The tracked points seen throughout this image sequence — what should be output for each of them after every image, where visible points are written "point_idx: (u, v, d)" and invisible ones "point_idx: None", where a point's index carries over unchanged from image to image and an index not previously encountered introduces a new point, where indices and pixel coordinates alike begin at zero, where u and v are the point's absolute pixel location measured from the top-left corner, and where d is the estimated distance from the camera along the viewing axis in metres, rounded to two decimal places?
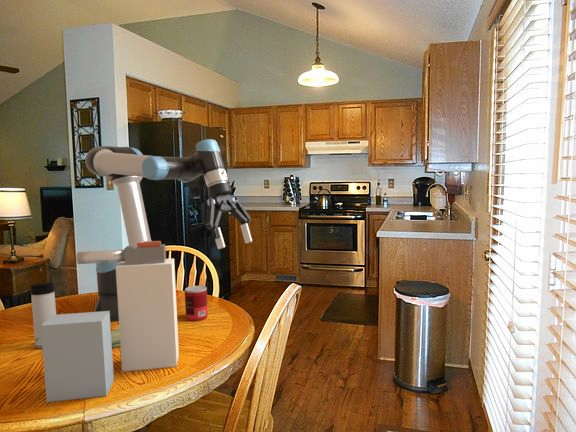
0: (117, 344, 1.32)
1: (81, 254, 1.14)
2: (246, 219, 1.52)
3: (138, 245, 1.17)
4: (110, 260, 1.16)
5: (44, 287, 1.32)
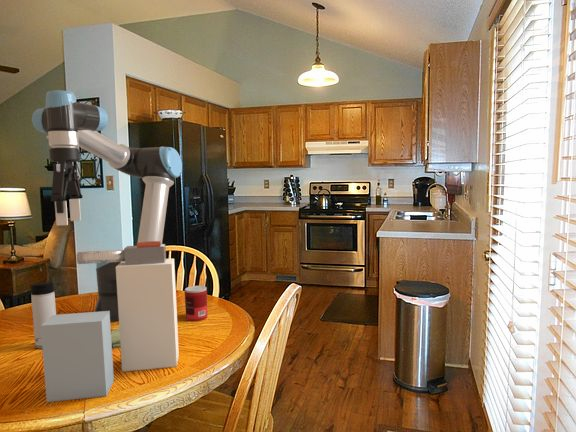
0: (117, 344, 1.32)
1: (81, 254, 1.14)
2: None
3: (138, 245, 1.17)
4: (110, 260, 1.16)
5: (44, 287, 1.32)
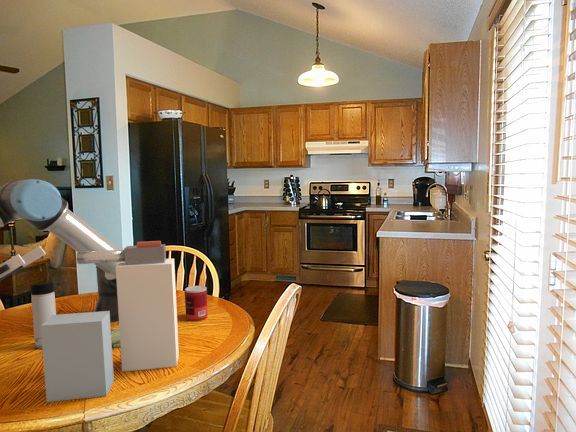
0: (118, 344, 1.33)
1: (81, 254, 1.14)
2: None
3: (138, 245, 1.17)
4: (110, 260, 1.16)
5: (44, 287, 1.32)
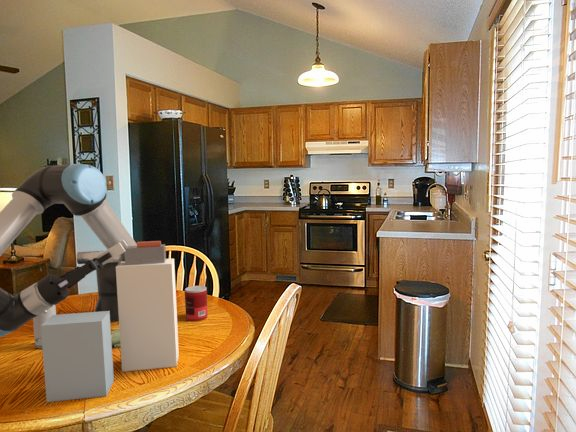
0: (118, 344, 1.33)
1: (81, 254, 1.14)
2: None
3: (138, 245, 1.17)
4: None
5: None
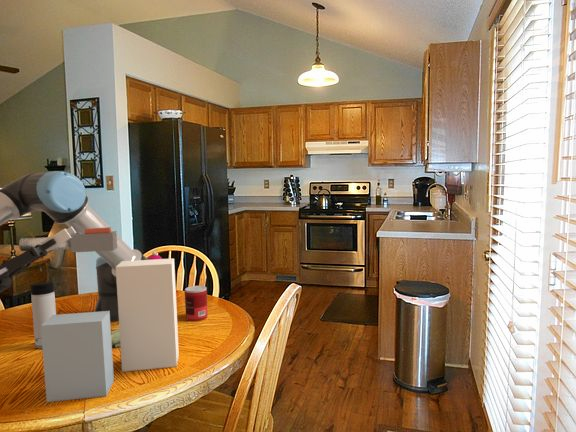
0: (119, 344, 1.33)
1: (24, 240, 1.08)
2: (40, 255, 1.07)
3: (86, 231, 1.11)
4: (55, 247, 1.09)
5: (44, 287, 1.32)
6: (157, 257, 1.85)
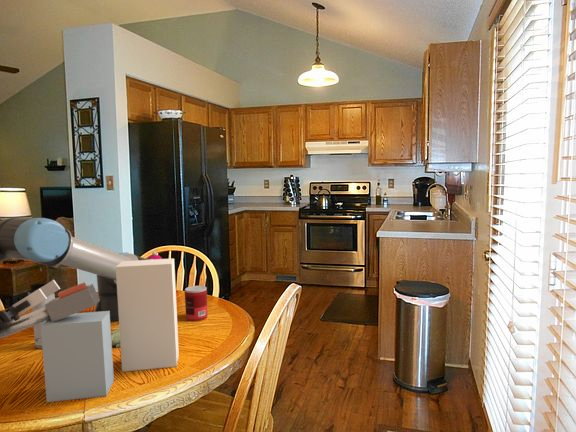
0: None
1: None
2: (12, 318, 0.97)
3: (60, 296, 1.02)
4: (35, 322, 1.01)
5: None
6: (157, 257, 1.85)
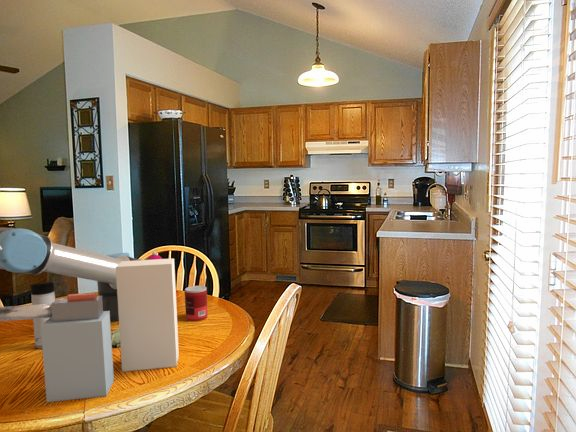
0: None
1: (1, 310, 1.00)
2: None
3: (69, 299, 1.03)
4: (36, 316, 1.01)
5: (44, 287, 1.32)
6: (157, 257, 1.85)
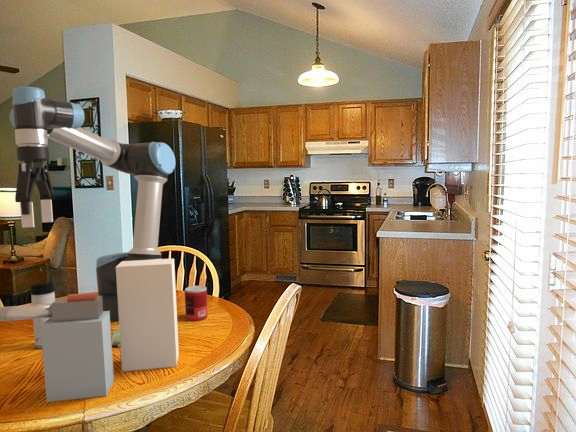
0: None
1: (1, 310, 1.00)
2: (51, 194, 1.27)
3: (69, 299, 1.03)
4: (36, 316, 1.01)
5: (44, 287, 1.32)
6: None
